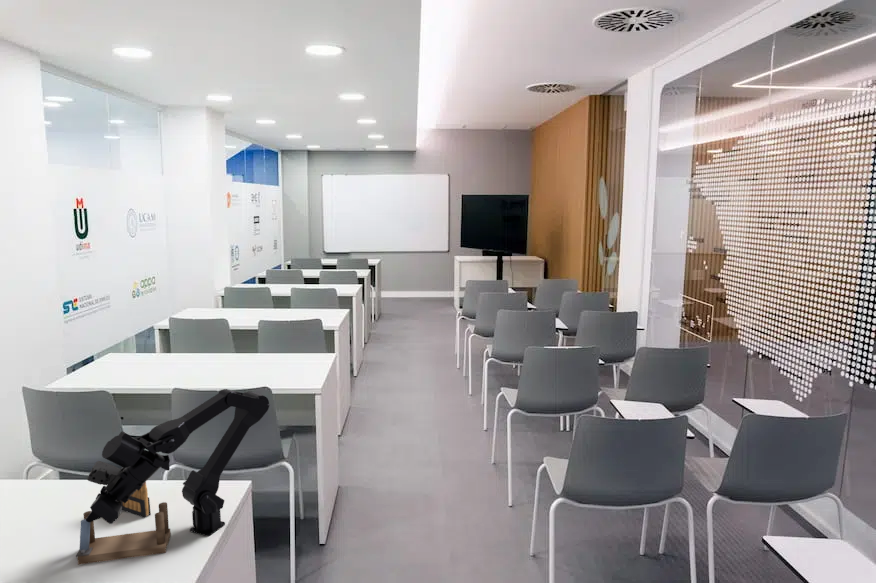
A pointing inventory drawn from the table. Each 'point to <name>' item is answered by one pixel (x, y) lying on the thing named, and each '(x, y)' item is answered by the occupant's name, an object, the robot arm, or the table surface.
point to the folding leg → (84, 535)
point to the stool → (128, 542)
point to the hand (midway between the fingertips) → (87, 520)
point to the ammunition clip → (138, 503)
